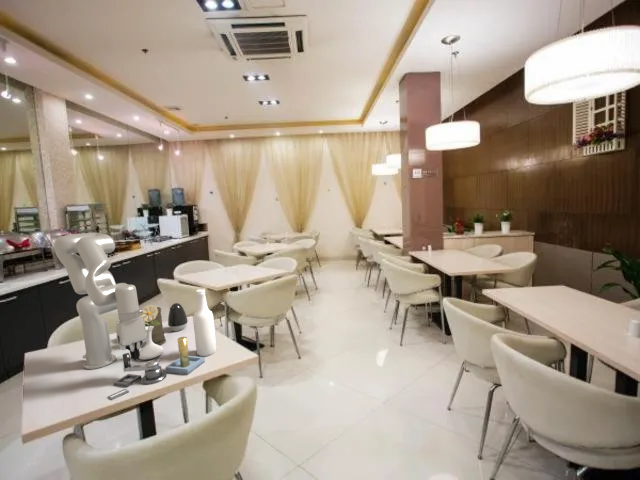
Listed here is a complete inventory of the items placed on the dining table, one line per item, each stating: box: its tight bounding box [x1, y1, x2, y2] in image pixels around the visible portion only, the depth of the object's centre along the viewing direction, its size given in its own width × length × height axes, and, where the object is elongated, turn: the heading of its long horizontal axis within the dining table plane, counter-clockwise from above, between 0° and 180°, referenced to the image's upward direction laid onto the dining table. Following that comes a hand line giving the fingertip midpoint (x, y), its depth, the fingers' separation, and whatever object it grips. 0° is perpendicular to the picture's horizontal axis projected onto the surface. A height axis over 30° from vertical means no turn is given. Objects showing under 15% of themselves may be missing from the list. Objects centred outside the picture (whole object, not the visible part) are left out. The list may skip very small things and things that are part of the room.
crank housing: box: [113, 365, 167, 388], centre depth 137 cm, size 17×12×4 cm
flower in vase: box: [138, 304, 165, 360], centre depth 158 cm, size 13×11×25 cm
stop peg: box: [177, 336, 190, 367], centre depth 146 cm, size 4×4×12 cm
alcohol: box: [192, 288, 217, 358], centre depth 158 cm, size 9×9×30 cm
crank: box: [122, 352, 160, 373], centre depth 137 cm, size 13×4×7 cm, turn 91°
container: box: [145, 306, 167, 346], centre depth 174 cm, size 9×9×18 cm
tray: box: [165, 355, 206, 375], centre depth 146 cm, size 11×11×2 cm
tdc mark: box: [107, 388, 130, 401], centre depth 127 cm, size 6×3×1 cm, turn 143°
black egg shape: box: [167, 302, 189, 332], centre depth 192 cm, size 10×10×15 cm
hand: (135, 358), depth 140 cm, fingers closed
